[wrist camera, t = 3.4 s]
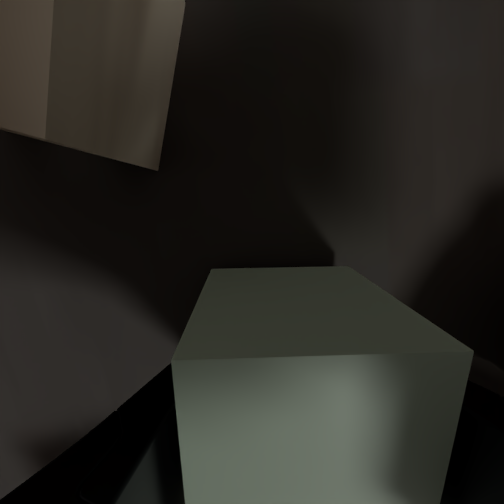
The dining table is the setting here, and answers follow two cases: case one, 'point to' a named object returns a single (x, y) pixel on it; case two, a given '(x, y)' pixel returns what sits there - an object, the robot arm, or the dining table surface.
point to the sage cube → (313, 392)
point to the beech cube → (90, 73)
